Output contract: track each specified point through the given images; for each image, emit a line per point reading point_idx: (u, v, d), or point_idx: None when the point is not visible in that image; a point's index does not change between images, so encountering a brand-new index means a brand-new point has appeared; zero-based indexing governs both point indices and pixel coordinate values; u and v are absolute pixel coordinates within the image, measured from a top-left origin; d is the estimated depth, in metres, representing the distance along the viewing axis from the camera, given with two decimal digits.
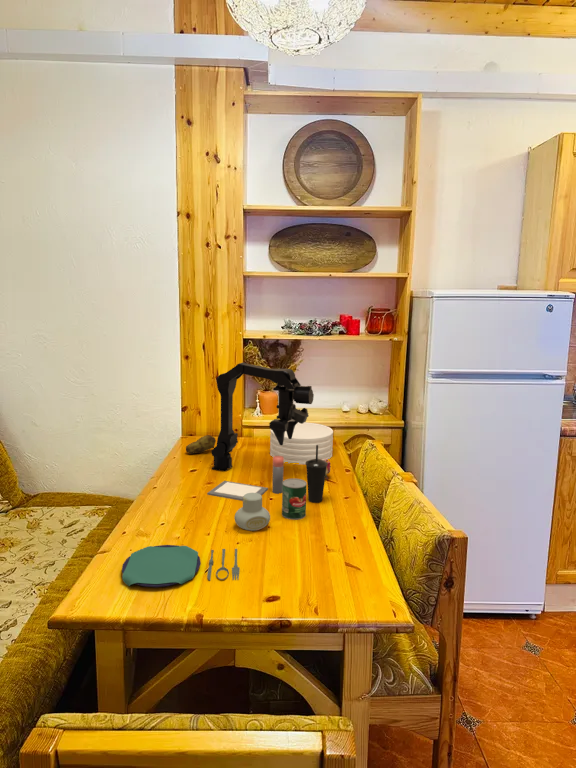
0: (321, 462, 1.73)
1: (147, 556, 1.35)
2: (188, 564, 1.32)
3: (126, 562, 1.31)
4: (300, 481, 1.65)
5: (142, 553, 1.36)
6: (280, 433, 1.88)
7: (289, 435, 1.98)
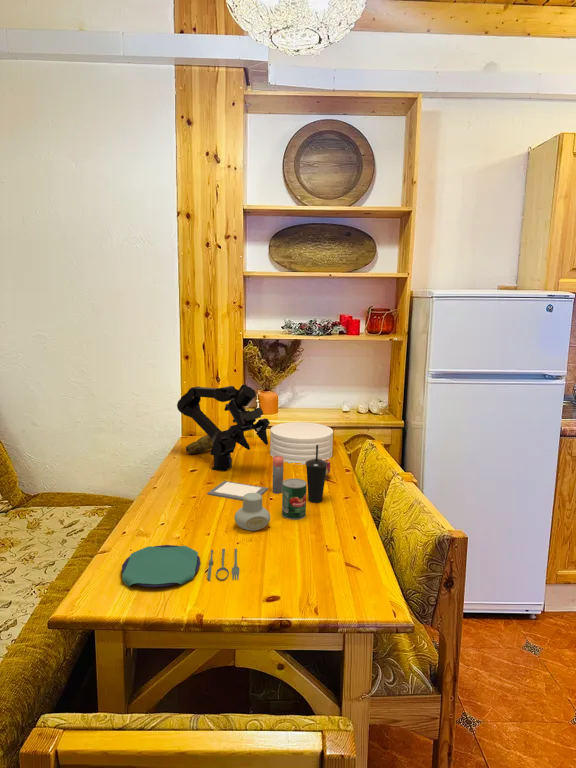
0: (321, 462, 1.73)
1: (147, 556, 1.35)
2: (188, 564, 1.32)
3: (126, 562, 1.31)
4: (300, 481, 1.65)
5: (142, 553, 1.36)
6: (241, 439, 1.88)
7: (264, 441, 1.94)
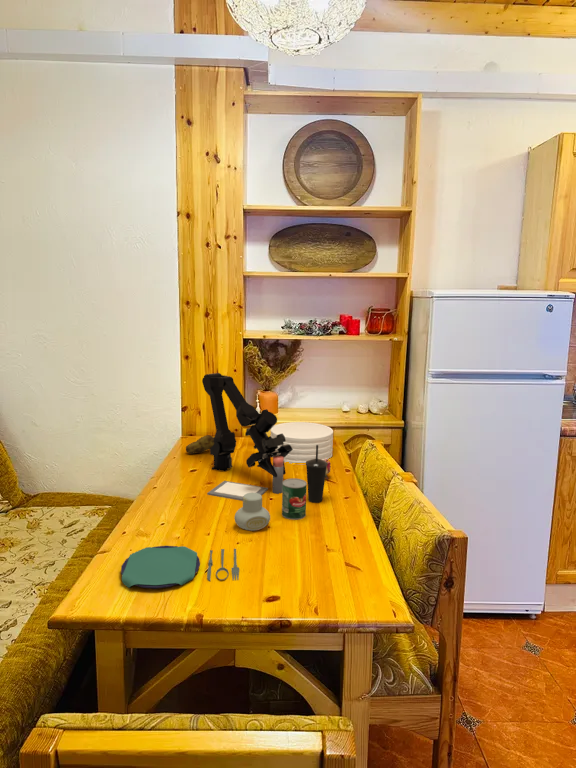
0: (321, 462, 1.73)
1: (146, 557, 1.34)
2: (187, 565, 1.31)
3: (125, 563, 1.30)
4: (300, 481, 1.65)
5: (141, 554, 1.35)
6: (267, 465, 1.81)
7: None
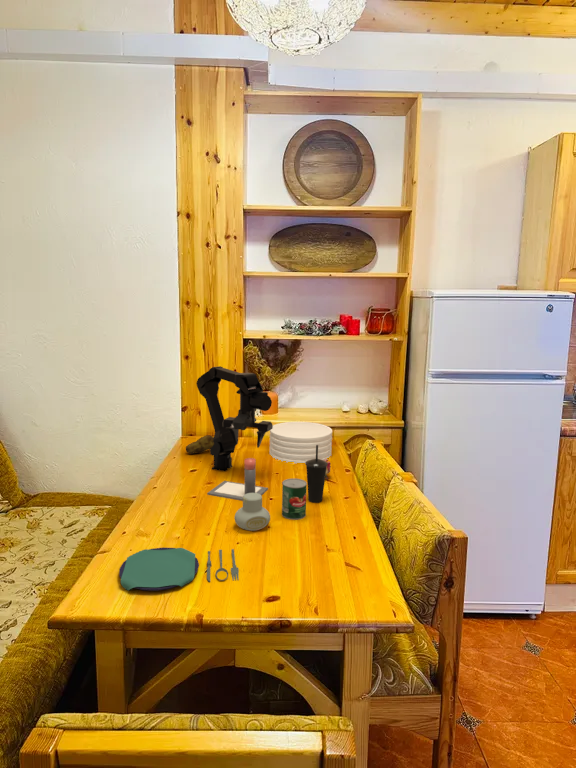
0: (321, 462, 1.73)
1: (143, 559, 1.33)
2: (186, 566, 1.31)
3: (123, 566, 1.29)
4: (300, 481, 1.65)
5: (138, 557, 1.34)
6: None
7: None
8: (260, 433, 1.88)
